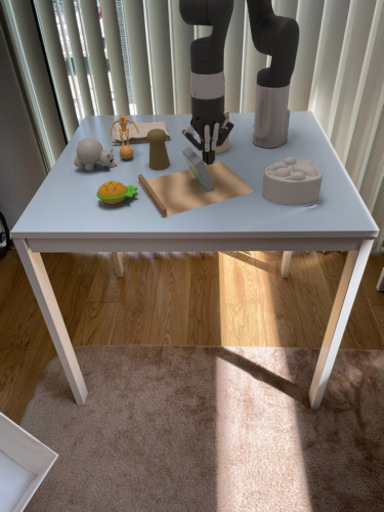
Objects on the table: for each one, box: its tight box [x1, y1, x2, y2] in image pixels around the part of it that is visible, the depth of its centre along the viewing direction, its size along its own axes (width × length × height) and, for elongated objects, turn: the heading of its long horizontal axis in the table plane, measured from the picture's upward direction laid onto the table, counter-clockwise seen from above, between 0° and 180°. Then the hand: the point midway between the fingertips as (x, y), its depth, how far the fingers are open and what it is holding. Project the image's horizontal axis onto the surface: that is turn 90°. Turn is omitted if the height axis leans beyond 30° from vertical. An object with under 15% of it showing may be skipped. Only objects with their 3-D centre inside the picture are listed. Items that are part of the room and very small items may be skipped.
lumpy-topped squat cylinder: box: [261, 156, 324, 208], centre depth 98 cm, size 10×13×9 cm
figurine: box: [108, 115, 139, 160], centre depth 117 cm, size 8×6×12 cm
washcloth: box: [111, 121, 171, 147], centre depth 131 cm, size 12×18×3 cm, turn 100°
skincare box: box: [215, 109, 230, 156], centre depth 116 cm, size 6×4×12 cm
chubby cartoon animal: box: [73, 137, 120, 172], centre depth 114 cm, size 7×12×8 cm, turn 79°
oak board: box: [137, 160, 255, 218], centre depth 104 cm, size 24×18×3 cm
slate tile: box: [181, 146, 216, 192], centre depth 102 cm, size 2×8×9 cm, turn 24°
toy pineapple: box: [96, 180, 139, 205], centre depth 101 cm, size 7×10×5 cm
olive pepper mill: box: [147, 129, 171, 171], centre depth 111 cm, size 6×6×11 cm
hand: (208, 163), depth 102 cm, fingers closed
